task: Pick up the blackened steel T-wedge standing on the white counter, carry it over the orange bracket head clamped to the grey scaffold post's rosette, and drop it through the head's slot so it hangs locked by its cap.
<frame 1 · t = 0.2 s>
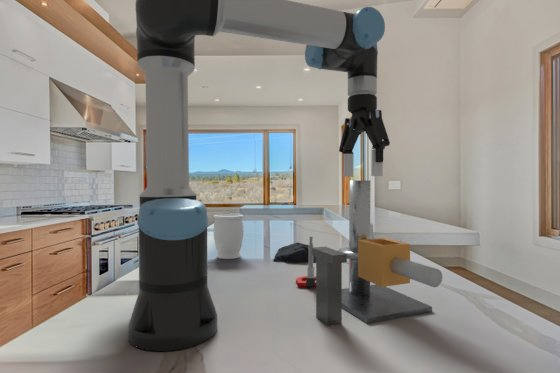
hand: (361, 176, 91), 28 cm above the counter, fingers open, 13 cm apart
dark slate chunk: (295, 257, 124), on the counter
wedge: (328, 320, 66), on the counter
bracket head: (383, 307, 73), resting on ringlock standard
jar: (228, 257, 122), on the counter
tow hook: (311, 284, 91), on the counter
mug: (365, 259, 120), on the counter
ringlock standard: (370, 301, 77), on the counter
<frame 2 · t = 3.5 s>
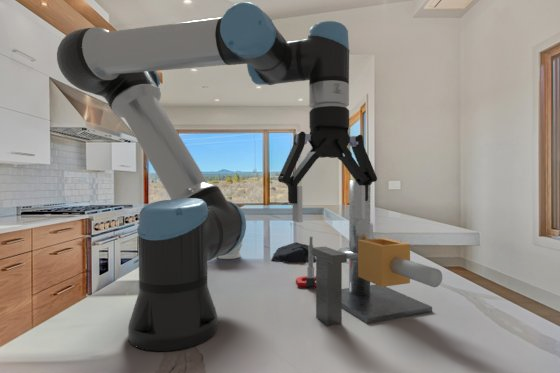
hand: (329, 219, 66), 19 cm above the counter, fingers open, 13 cm apart
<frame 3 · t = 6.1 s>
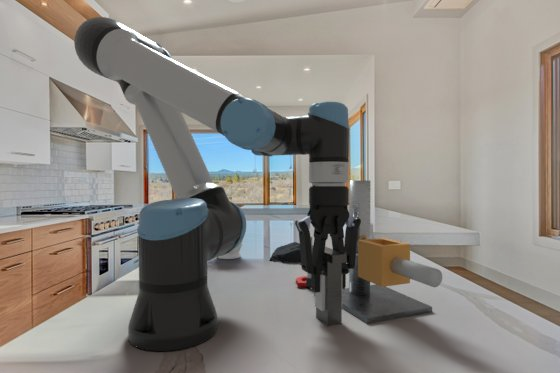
hand: (328, 306, 66), 3 cm above the counter, fingers closed on wedge, 3 cm apart
wedge: (328, 320, 66), on the counter, touching gripper
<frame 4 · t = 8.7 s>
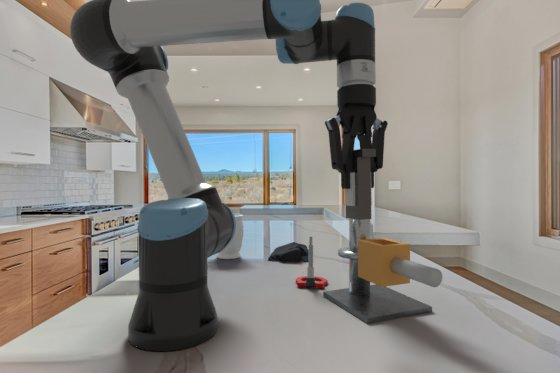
hand: (358, 204, 69), 22 cm above the counter, fingers closed on wedge, 3 cm apart
wedge: (358, 218, 69), point 19 cm above the counter, touching gripper
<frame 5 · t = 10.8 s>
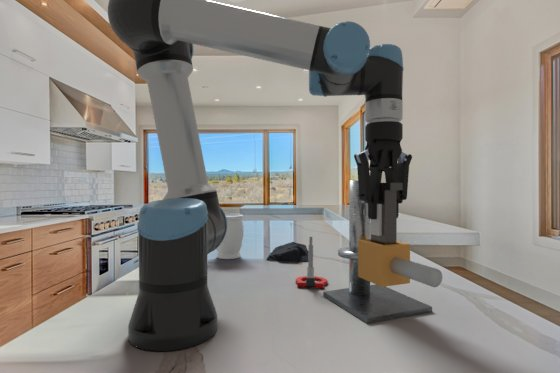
hand: (383, 234, 73), 16 cm above the counter, fingers closed on wedge, 3 cm apart
wedge: (383, 246, 73), point 13 cm above the counter, touching gripper
when the fingers open (16 cm above the counter, at t = 11.7 s): wedge drops 11 cm, resting on bracket head.
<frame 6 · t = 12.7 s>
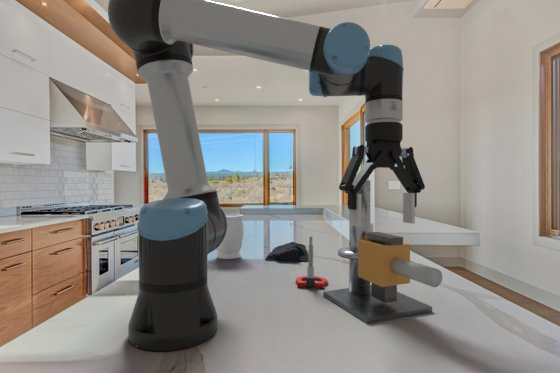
hand: (383, 224, 73), 18 cm above the counter, fingers open, 13 cm apart
wedge: (383, 298, 73), point 2 cm above the counter, touching bracket head
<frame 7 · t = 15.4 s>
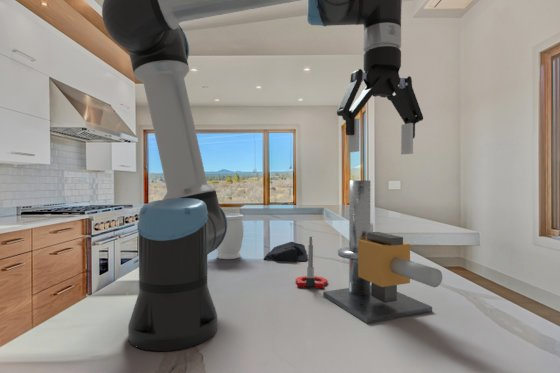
hand: (381, 153, 72), 33 cm above the counter, fingers open, 13 cm apart
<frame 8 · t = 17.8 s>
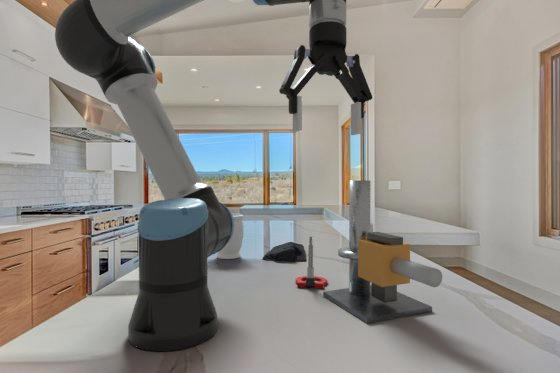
hand: (327, 132, 70), 37 cm above the counter, fingers open, 13 cm apart
at the end: wedge 0.2 cm off-centre on the bracket head, point 2.0 cm above the bracket head's base; wedge tilted 0°; the gripper is holding nothing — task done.
